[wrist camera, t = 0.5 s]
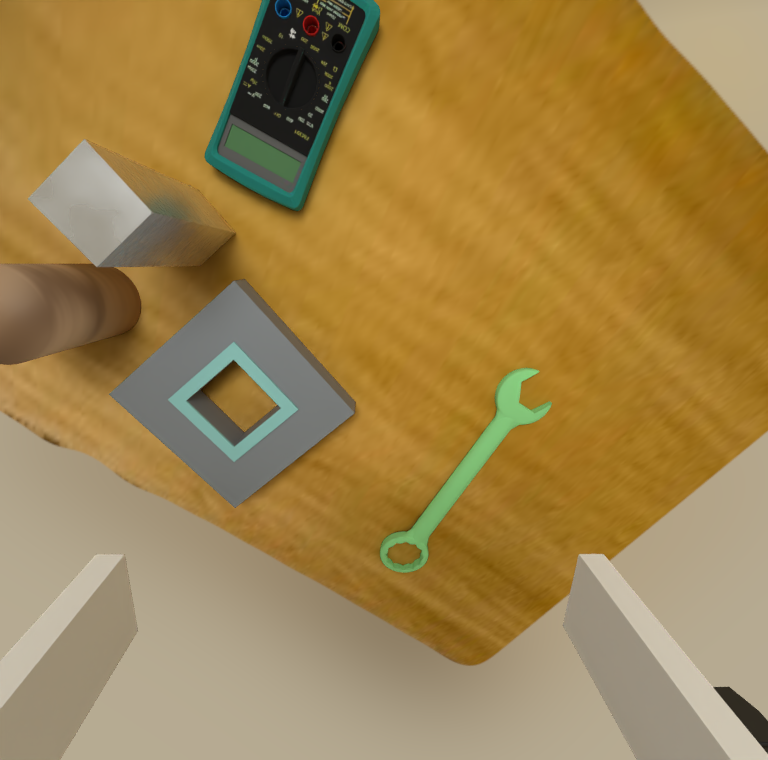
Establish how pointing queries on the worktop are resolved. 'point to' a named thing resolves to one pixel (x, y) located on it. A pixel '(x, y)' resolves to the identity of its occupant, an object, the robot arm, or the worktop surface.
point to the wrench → (468, 467)
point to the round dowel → (61, 308)
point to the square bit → (129, 212)
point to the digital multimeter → (291, 93)
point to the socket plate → (207, 421)
